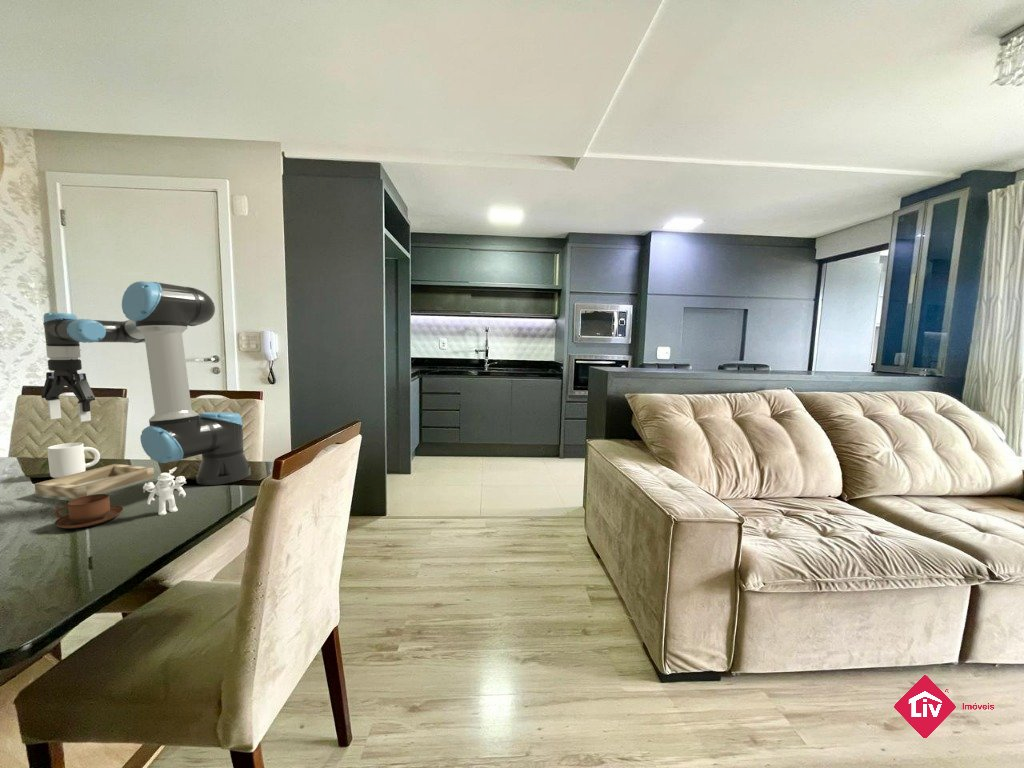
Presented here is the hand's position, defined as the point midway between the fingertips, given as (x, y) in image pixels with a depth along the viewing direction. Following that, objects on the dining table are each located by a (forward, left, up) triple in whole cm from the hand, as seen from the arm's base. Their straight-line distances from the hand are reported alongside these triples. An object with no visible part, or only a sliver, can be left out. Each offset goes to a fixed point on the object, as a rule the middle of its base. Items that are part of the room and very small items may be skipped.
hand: (70, 419), depth 134 cm
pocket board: (-23, +8, -19) cm, 31 cm away
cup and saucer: (-50, +26, -20) cm, 59 cm away
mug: (0, 0, -19) cm, 19 cm away
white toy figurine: (-63, +17, -19) cm, 68 cm away
